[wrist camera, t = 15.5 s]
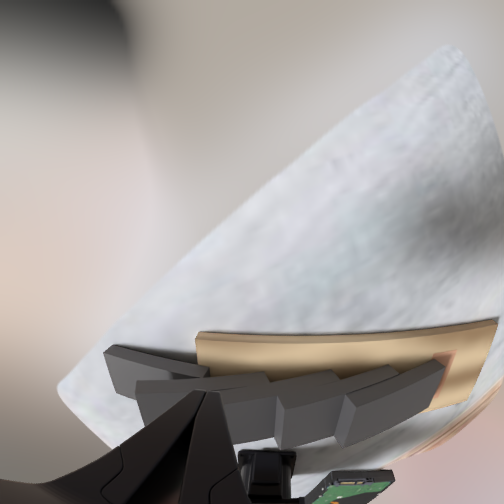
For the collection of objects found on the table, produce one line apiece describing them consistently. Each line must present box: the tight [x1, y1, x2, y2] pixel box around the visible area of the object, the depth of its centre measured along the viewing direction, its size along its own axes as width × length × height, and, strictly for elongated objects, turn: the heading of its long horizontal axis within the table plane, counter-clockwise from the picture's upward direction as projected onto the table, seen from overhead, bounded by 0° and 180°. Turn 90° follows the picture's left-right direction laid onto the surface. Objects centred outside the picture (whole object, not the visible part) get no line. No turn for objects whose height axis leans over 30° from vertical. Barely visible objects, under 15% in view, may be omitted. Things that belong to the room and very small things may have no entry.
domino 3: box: [217, 369, 340, 445], centre depth 19 cm, size 2×5×10 cm
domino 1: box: [103, 345, 210, 400], centre depth 22 cm, size 2×5×10 cm
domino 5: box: [334, 359, 446, 448], centre depth 18 cm, size 2×5×10 cm
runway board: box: [195, 320, 498, 414], centre depth 21 cm, size 10×29×1 cm, turn 90°
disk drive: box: [304, 469, 395, 504], centre depth 27 cm, size 10×3×15 cm
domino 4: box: [274, 364, 399, 451], centre depth 19 cm, size 2×5×10 cm
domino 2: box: [135, 371, 270, 426], centre depth 19 cm, size 2×5×10 cm
